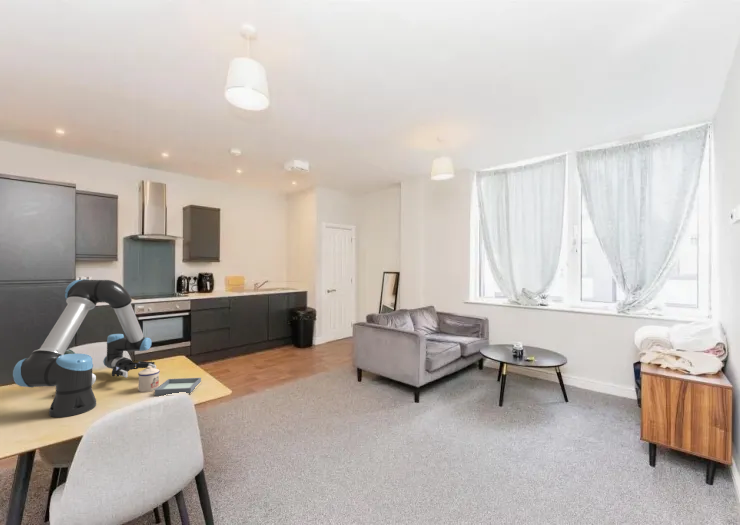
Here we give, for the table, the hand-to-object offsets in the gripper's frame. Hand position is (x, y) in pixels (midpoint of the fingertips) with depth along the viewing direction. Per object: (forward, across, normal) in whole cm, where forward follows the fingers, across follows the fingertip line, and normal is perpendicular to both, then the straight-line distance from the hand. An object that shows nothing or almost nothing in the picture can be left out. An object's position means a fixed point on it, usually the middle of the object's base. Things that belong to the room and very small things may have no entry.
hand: (141, 371), depth 173 cm
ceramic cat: (-44, +18, -7) cm, 48 cm away
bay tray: (+23, -7, -7) cm, 25 cm away
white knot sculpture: (-14, +22, -7) cm, 27 cm away
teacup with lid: (+9, 0, -7) cm, 12 cm away
